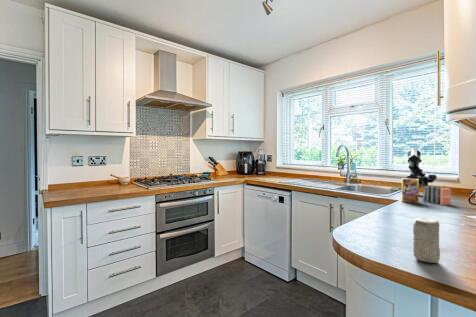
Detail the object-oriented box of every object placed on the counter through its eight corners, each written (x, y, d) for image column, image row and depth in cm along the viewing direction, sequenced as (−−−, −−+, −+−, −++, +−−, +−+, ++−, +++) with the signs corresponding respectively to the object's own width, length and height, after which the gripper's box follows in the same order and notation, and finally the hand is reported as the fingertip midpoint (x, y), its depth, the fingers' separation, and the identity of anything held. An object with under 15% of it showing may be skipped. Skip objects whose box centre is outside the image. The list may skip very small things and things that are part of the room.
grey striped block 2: (426, 201, 165) (426, 186, 165) (433, 201, 165) (434, 186, 165) (428, 201, 163) (428, 186, 163) (435, 201, 163) (436, 186, 163)
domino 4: (435, 203, 157) (435, 187, 157) (443, 203, 157) (443, 187, 157) (437, 203, 156) (437, 188, 156) (445, 203, 156) (445, 188, 156)
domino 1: (422, 199, 169) (425, 185, 166) (429, 199, 169) (432, 185, 166) (423, 200, 167) (426, 186, 165) (431, 200, 167) (434, 186, 165)
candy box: (401, 202, 161) (402, 178, 161) (401, 200, 165) (401, 178, 165) (418, 203, 157) (418, 179, 157) (417, 202, 161) (417, 178, 160)
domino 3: (430, 202, 161) (431, 186, 161) (438, 202, 161) (438, 186, 161) (432, 202, 160) (433, 187, 159) (440, 202, 160) (440, 187, 159)
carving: (438, 258, 74) (439, 218, 73) (441, 268, 67) (442, 224, 67) (412, 254, 77) (413, 215, 77) (412, 262, 71) (413, 221, 71)
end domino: (440, 204, 154) (440, 188, 153) (448, 204, 154) (448, 188, 153) (442, 205, 152) (442, 188, 152) (450, 205, 152) (450, 188, 152)
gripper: (422, 177, 183) (434, 195, 173) (397, 177, 183) (407, 195, 173) (431, 167, 175) (443, 185, 164) (404, 167, 175) (415, 185, 165)
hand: (427, 188), depth 167 cm, fingers closed, pressing on domino 1
